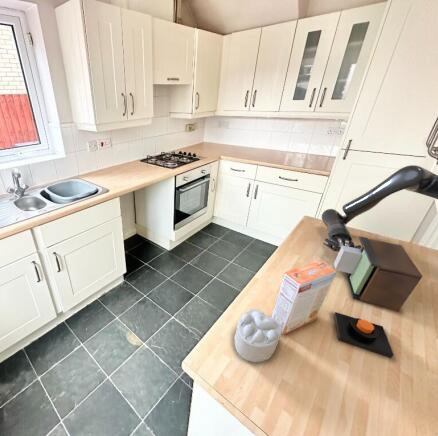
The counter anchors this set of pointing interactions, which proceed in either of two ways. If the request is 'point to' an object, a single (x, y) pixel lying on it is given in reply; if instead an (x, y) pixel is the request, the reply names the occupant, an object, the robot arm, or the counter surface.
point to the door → (354, 266)
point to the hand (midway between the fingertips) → (345, 256)
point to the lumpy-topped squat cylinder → (257, 336)
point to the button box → (362, 335)
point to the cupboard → (387, 275)
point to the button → (365, 326)
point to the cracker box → (302, 295)
